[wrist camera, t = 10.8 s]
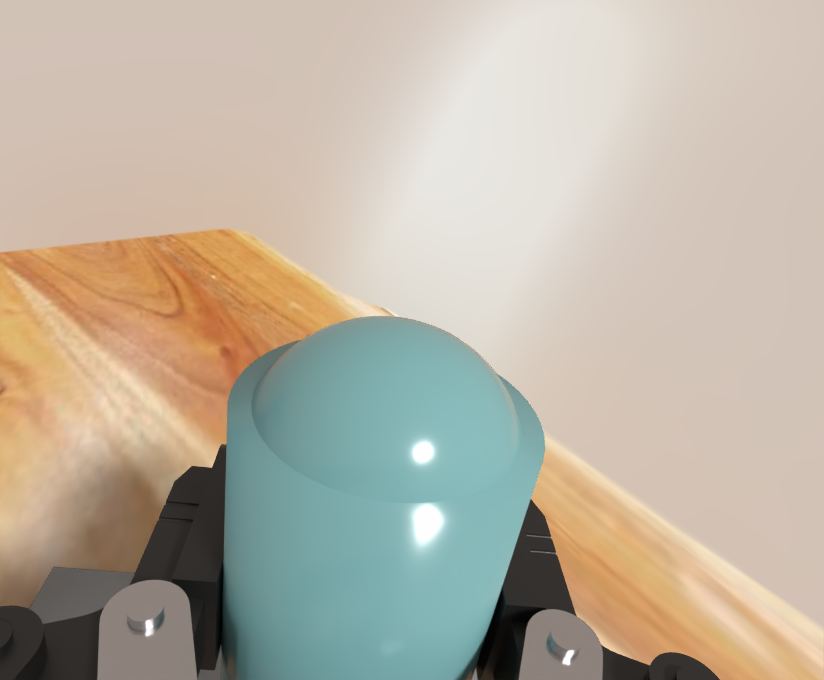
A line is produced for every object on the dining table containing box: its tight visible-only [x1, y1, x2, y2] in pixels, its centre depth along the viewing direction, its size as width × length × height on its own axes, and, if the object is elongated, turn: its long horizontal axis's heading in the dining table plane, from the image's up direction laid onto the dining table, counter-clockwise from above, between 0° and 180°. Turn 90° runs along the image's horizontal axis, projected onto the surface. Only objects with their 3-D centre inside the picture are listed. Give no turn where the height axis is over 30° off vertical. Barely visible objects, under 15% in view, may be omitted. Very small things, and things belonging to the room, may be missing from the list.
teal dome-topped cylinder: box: [220, 316, 545, 680], centre depth 12 cm, size 5×5×12 cm
